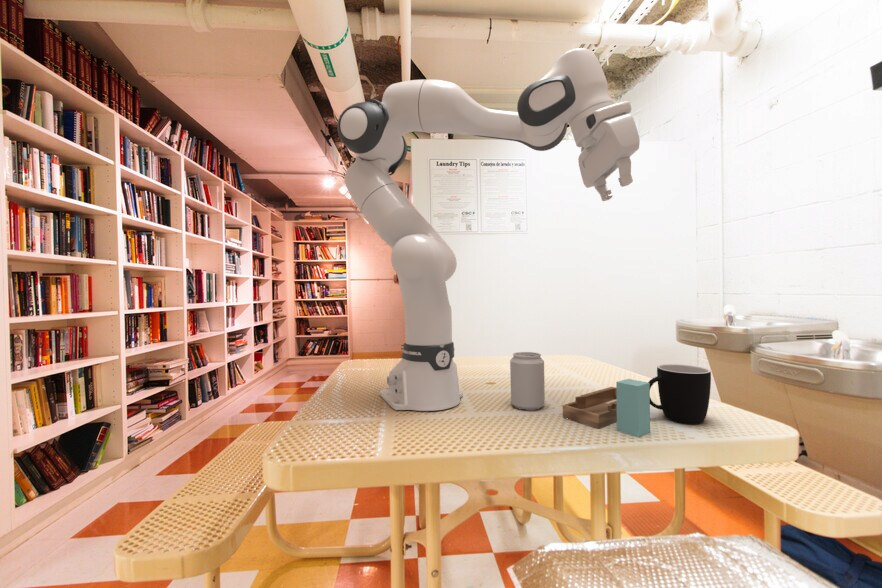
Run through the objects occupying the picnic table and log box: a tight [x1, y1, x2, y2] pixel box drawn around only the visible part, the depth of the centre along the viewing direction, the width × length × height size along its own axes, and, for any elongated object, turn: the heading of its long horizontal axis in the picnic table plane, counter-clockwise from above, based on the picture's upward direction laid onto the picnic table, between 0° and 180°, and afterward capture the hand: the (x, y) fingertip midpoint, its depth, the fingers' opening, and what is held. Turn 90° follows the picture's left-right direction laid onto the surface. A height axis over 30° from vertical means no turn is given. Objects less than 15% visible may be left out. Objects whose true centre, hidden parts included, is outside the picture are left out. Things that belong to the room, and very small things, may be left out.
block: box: [615, 378, 651, 438], centre depth 68 cm, size 4×4×9 cm
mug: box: [648, 363, 712, 425], centre depth 74 cm, size 12×9×10 cm
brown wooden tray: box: [562, 386, 617, 430], centre depth 78 cm, size 8×18×4 cm, turn 124°
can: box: [509, 351, 546, 411], centre depth 84 cm, size 8×8×12 cm
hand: (616, 192), depth 75 cm, fingers open, 8 cm apart
